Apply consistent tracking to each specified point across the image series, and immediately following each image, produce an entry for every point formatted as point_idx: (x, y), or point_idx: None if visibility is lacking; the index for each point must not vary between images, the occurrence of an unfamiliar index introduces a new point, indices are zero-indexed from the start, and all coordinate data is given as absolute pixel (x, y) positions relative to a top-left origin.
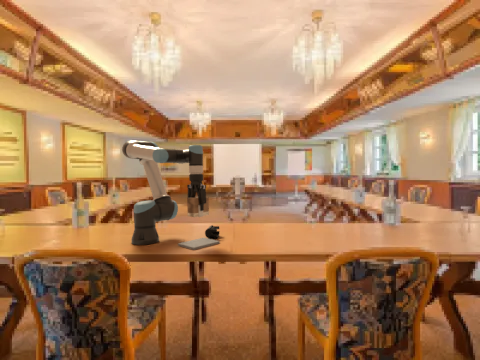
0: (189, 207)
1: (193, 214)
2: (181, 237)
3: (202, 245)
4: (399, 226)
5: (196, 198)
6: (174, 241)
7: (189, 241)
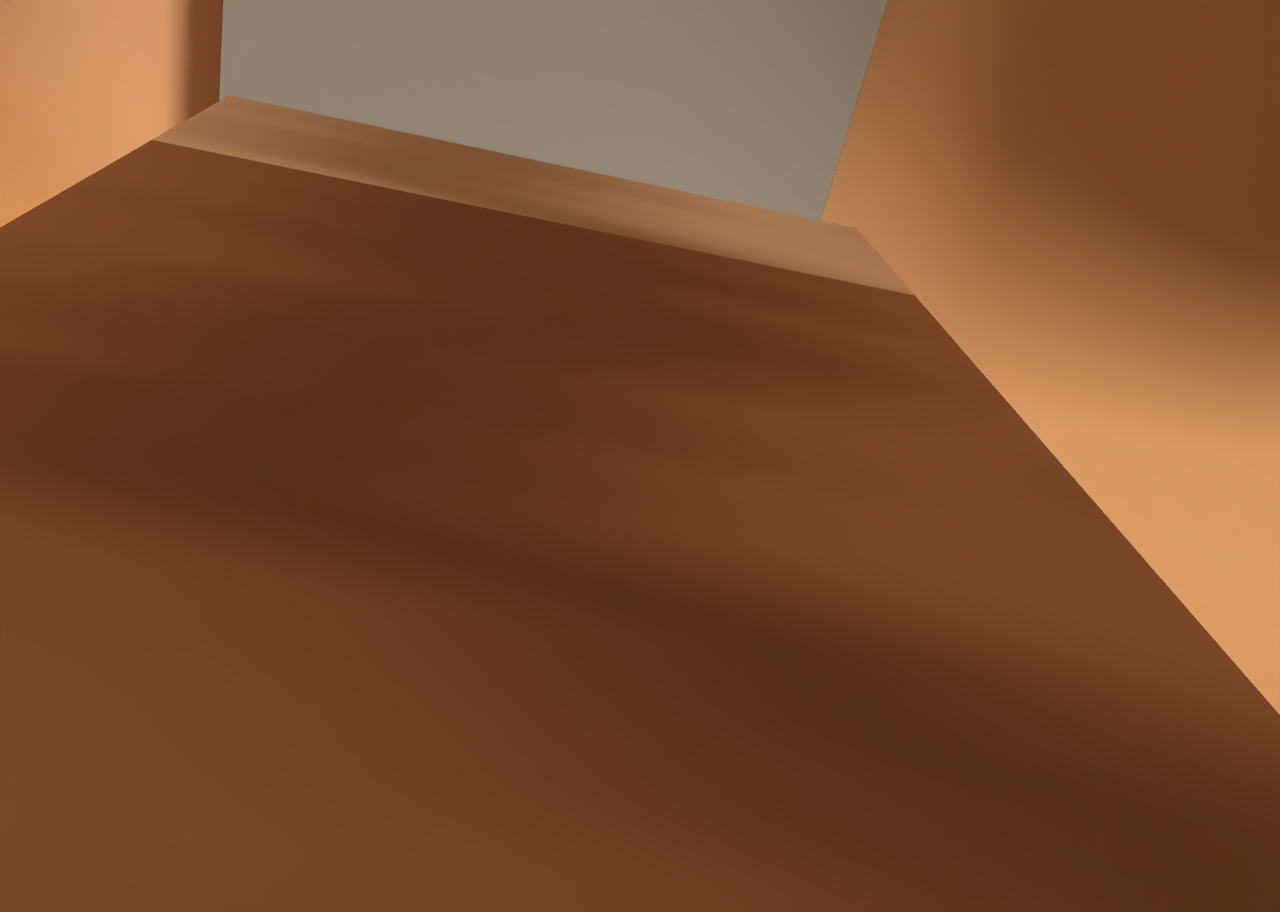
0: (760, 406)
1: (285, 145)
2: (1230, 498)
3: (224, 19)
4: None
5: None
6: (1203, 173)
7: (769, 186)
